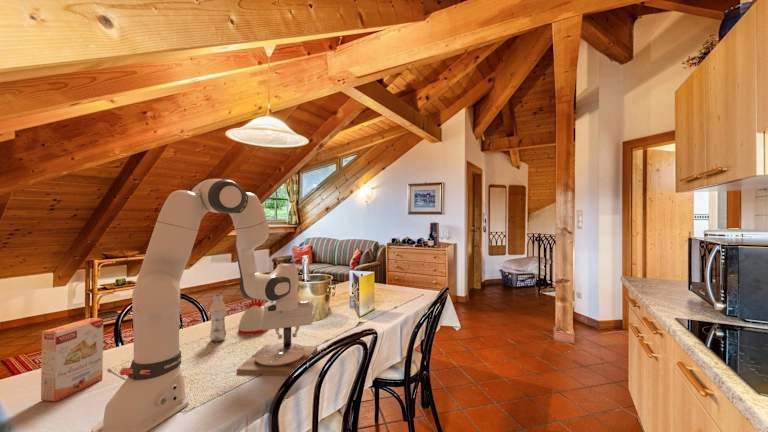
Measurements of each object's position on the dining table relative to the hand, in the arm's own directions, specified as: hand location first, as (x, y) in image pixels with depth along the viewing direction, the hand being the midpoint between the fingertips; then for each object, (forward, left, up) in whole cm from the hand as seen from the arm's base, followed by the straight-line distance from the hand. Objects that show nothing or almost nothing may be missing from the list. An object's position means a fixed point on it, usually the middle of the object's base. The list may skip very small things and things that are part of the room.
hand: (287, 337), depth 131 cm
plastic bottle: (+10, +36, -6) cm, 38 cm away
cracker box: (-33, +57, -6) cm, 66 cm away
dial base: (-7, 0, -6) cm, 9 cm away
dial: (-7, 0, -4) cm, 8 cm away
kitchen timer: (+25, +27, -6) cm, 37 cm away
